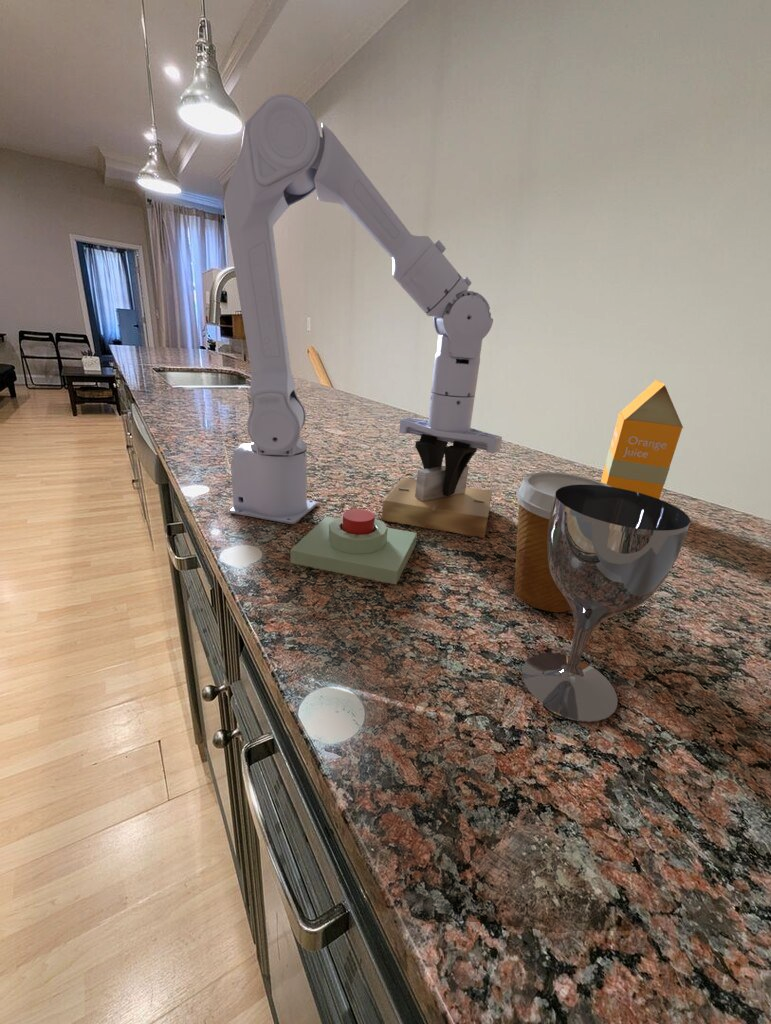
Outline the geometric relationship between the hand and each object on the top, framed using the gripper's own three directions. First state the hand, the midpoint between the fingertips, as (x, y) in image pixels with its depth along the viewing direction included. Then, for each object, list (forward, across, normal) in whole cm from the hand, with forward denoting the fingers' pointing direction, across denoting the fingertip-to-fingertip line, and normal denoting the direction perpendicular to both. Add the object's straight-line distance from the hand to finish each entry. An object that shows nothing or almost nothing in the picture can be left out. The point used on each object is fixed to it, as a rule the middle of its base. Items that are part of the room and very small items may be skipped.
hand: (440, 491), depth 63 cm
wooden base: (+4, 0, 0) cm, 4 cm away
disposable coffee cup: (+4, -19, +11) cm, 22 cm away
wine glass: (+4, -25, +23) cm, 34 cm away
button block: (+4, +1, +17) cm, 18 cm away
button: (0, +1, +17) cm, 17 cm away
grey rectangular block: (+1, 0, 0) cm, 1 cm away
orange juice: (+4, -20, -25) cm, 32 cm away
